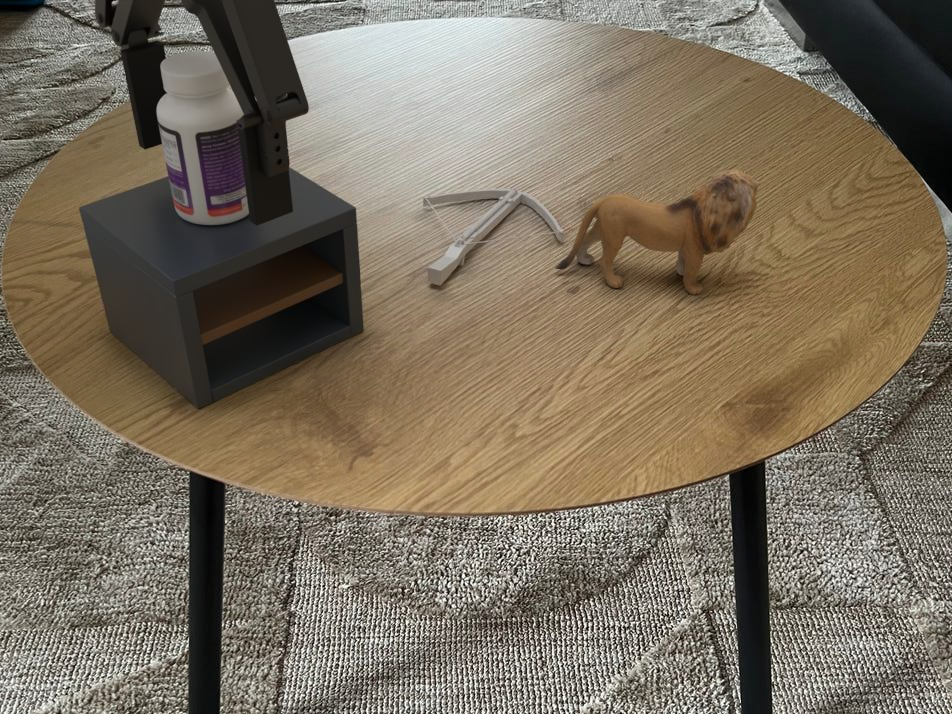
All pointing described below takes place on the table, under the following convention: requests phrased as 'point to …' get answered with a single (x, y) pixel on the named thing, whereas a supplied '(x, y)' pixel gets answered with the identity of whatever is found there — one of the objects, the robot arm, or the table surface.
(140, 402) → the table surface
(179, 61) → the pill bottle
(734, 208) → the lion figurine
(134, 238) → the shelf
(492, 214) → the crossbow
